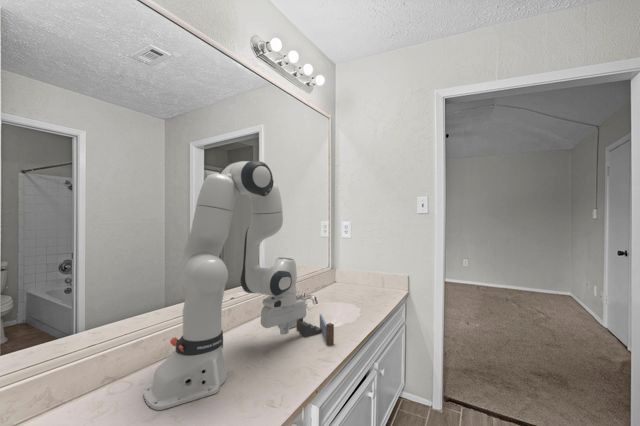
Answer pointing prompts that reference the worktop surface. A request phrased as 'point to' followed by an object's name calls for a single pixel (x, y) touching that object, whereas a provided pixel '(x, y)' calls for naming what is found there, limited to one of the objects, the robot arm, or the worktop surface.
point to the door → (323, 326)
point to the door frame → (328, 332)
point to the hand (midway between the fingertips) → (284, 333)
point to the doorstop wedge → (309, 329)
